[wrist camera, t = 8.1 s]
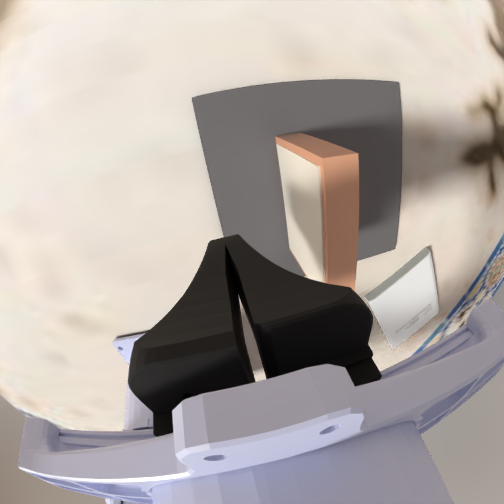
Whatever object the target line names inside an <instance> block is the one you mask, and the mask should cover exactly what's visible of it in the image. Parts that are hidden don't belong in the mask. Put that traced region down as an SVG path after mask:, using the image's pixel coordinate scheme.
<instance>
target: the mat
mask: <svg viewBox="0 0 504 504" xmlns="http://www.w3.org/2000/svg"><path fill="white" fill-rule="evenodd" d="M192 102H193V106H194V111H195V116H196V120H197V125H198V129H199V134H200V138H201V143H202V147H203V152H204V156H205V160H206V165H207V169H208V173H209V178H210V182H211V186H212V190H213V195H214V199H215V203H216V207H217V211H218V215H219V219H220V223H221V227H222V231H223V235H224V237H228V236H232V235H236V234H239V235H240V236H241V237H242V238H243V239H244V240H245V241H246V242H247V243H248V244H249V245H250V246H251V247H253V248H254V249H255V250H256V251H257V252H259V253H260V254H261V255H263V256H264V257H265V258H267V259H268V260H270V261H271V262H273V263H274V264H276V265H278V266H280V267H282V268H284V269H286V270H288V271H290V272H292V273H295V274H297V275H300V276H303V277H304V276H306V275H305V274H304V272H303V270H302V269H301V267H300V265H299V264H298V262H297V261H296V259H295V257H294V256H293V254H292V252H291V251H290V248H289V239H288V230H287V221H286V213H285V205H284V197H283V189H282V181H281V174H280V167H279V160H278V153H277V146H276V138H275V136H280V135H287V134H293V133H303V134H307V135H310V136H313V137H316V138H318V139H321V140H324V141H327V142H330V143H333V144H335V145H338V146H341V147H343V148H346V149H348V150H351V151H354V152H356V153H358V159H359V231H358V252H357V261H359V260H362V259H365V258H368V257H372V256H375V255H378V254H381V253H384V252H387V251H391V250H394V249H395V246H396V239H397V230H398V221H399V210H400V197H401V179H402V121H401V103H400V91H399V82H390V81H376V80H309V81H294V82H282V83H273V84H264V85H256V86H249V87H243V88H237V89H231V90H226V91H220V92H215V93H210V94H206V95H201V96H197V97H193V98H192Z"/></svg>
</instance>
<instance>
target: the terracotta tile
mask: <svg viewBox="0 0 504 504" xmlns="http://www.w3.org/2000/svg"><path fill="white" fill-rule="evenodd" d="M275 138H276V146H277V153H278V160H279V167H280V174H281V181H282V189H283V197H284V205H285V213H286V221H287V230H288V239H289V248H290V251H291V252H292V254H293V256H294V257H295V259H296V261H297V262H298V264H299V265H300V267H301V269H302V270H303V272H304V274H305V275H306V277H307V278H309V279H312V280H316V281H320V282H323V283H328V284H334V285H340V286H346V287H351V288H352V289H353V291H354V290H355V280H356V267H357V252H358V231H359V159H358V153H356V152H354V151H351V150H348V149H346V148H343V147H341V146H338V145H335V144H333V143H330V142H327V141H324V140H321V139H318V138H316V137H313V136H310V135H307V134H303V133H293V134H287V135H280V136H275Z"/></svg>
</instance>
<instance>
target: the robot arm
mask: <svg viewBox="0 0 504 504" xmlns="http://www.w3.org/2000/svg"><path fill="white" fill-rule="evenodd" d="M238 295H239V296H238ZM239 297H240V300H241V303H242V305H243V308H244V310H245V313H246V316H247V318H248V321H249V323H250V326H251V328H252V331H253V334H254V337H255V340H256V343H257V347H258V350H259V354H260V357H261V361H262V364H263V368H264V372H265V375H266V380H262V381H258V382H255V378H254V374H253V371H252V367H251V363H250V359H249V355H248V351H247V348H246V344H245V339H244V333H243V326H242V318H241V311H240V303H239ZM372 324H373V316H372V313H371V311H370V309H369V308H368V307H367V305H366V304H365V303H364V301H363V300H362V299H361V298H360V297H359V296H358V295H357V294H356V293H355V292H354V291H353V289H352V288H351V287H346V286H340V285H334V284H328V283H323V282H320V281H316V280H312V279H309V278H306V277H303V276H300V275H297V274H295V273H292V272H290V271H288V270H286V269H284V268H282V267H280V266H278V265H276V264H274V263H273V262H271V261H270V260H268V259H267V258H265V257H264V256H263V255H261V254H260V253H259V252H257V251H256V250H255V249H254V248H253V247H251V246H250V245H249V244H248V243H247V242H246V241H245V240H244V239H243V238H242V237H241V236H240V235H239V234H236V235H232V236H228V237H224V238H220V239H216V240H212V241H210V242H209V243H208V246H207V250H206V252H205V255H204V258H203V260H202V262H201V265H200V267H199V269H198V271H197V273H196V275H195V277H194V279H193V281H192V282H191V284H190V286H189V287H188V289H187V290H186V292H185V293H184V295H183V296H182V297H181V299H180V300H179V301H178V302H177V303H176V305H175V306H174V307H173V308H172V309H171V310H170V312H169V313H168V314H167V315H166V316H165V317H164V318H163V319H162V320H160V321H159V322H158V323H157V324H156V325H155V326H154V327H153V328H152V329H150V330H149V331H148V332H147V333H143V334H138V335H133V336H128V337H122V338H116V339H114V340H113V346H114V347H115V348H116V349H117V351H118V352H119V353H120V355H121V356H122V357H123V358H124V360H125V361H126V362H127V363H128V365H129V371H128V380H127V391H126V404H125V421H124V429H123V431H80V430H66V429H59V428H58V427H57V426H56V425H55V424H53V423H52V422H50V421H48V420H46V419H42V418H35V417H26V421H25V426H24V431H23V437H22V443H21V449H20V456H19V466H18V467H19V468H20V469H21V470H23V471H25V472H28V473H29V474H31V475H33V476H35V477H37V478H39V479H41V480H44V481H46V482H48V483H50V484H53V485H55V486H57V487H60V488H63V489H67V490H71V491H75V492H79V493H83V494H88V495H93V496H98V497H103V498H105V500H106V504H454V503H453V501H452V498H451V496H450V494H449V492H448V490H447V487H446V485H445V483H444V481H443V479H442V477H441V475H440V473H439V471H438V469H437V467H436V465H435V463H434V461H433V459H432V457H431V455H430V453H429V451H428V449H427V447H426V445H425V443H424V441H423V439H422V437H421V434H422V433H424V432H425V431H427V430H428V429H430V428H431V427H432V426H434V425H435V424H437V423H438V422H439V421H441V420H442V419H444V418H445V417H446V416H448V415H449V414H450V413H452V412H453V411H454V410H455V409H457V408H458V407H459V406H460V405H462V404H463V403H464V402H465V401H467V400H468V399H469V398H470V397H471V396H472V395H474V394H475V393H476V392H477V391H478V390H479V389H481V388H482V387H483V386H484V385H485V384H486V383H487V382H488V381H490V380H491V379H492V378H493V377H494V376H495V375H496V374H497V373H498V372H499V370H500V369H501V368H502V367H503V365H504V312H503V311H502V310H501V309H500V308H499V307H498V306H497V305H496V304H495V303H494V302H493V301H492V300H491V299H490V298H488V299H487V300H485V301H484V302H482V303H481V304H480V305H478V306H477V307H475V308H474V309H473V310H472V312H471V313H470V315H469V316H468V319H467V321H466V324H465V325H464V326H462V327H461V328H459V329H458V330H456V331H454V332H453V333H451V334H450V335H448V336H446V337H445V338H443V339H442V340H440V341H438V342H436V343H435V344H433V345H431V346H430V347H428V348H426V349H424V350H422V351H421V352H419V353H417V354H415V355H413V356H411V357H409V358H407V359H405V360H403V361H401V362H399V363H397V364H395V365H393V366H391V367H389V368H387V369H385V370H383V371H381V372H380V371H379V370H378V368H377V366H376V364H375V363H374V361H373V359H372V358H371V357H372V356H373V352H372V350H371V349H370V347H369V345H368V341H369V337H370V333H371V329H372Z"/></svg>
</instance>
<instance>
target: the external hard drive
mask: <svg viewBox="0 0 504 504" xmlns="http://www.w3.org/2000/svg"><path fill="white" fill-rule="evenodd" d="M365 299H366V301H367V303H368V304H369V306H370V308H371V310H372V312H373V314H374V316H375V317H376V319H377V321H378V323H379V325H380V327H381V329H382V331H383V333H384V335H385V337H386V339H387V341H388V343H389V345H390V346H391V348H392V349H393V348H396V347H397V346H399V345H400V344H401V343H402V342H404V341H405V340H406V339H408V338H409V337H410V336H411V335H413V334H414V333H415V332H416V331H418V330H419V329H420V328H421V327H423V326H424V325H425V324H426V323H427V322H429V321H430V320H431V319H432V318H433V317H434V316H436V315H437V314H438V312H439V306H438V296H437V288H436V281H435V274H434V268H433V262H432V257H431V252H430V250H428V249H427V248H426V247H425V248H424V249H423V250H421V251H420V252H419V253H418V254H417V255H416V256H415V257H413V258H412V259H411V260H410V261H409V262H408V263H406V264H405V265H404V266H403V267H402V268H400V269H399V270H398V271H397V272H395V273H394V274H393V275H392V276H391V277H389V278H388V279H387V280H386V281H384V282H383V283H382V284H380V285H379V286H378V287H377V288H375V289H374V290H373V291H371V292H370V293H369V294H367V295H366V296H365Z"/></svg>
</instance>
